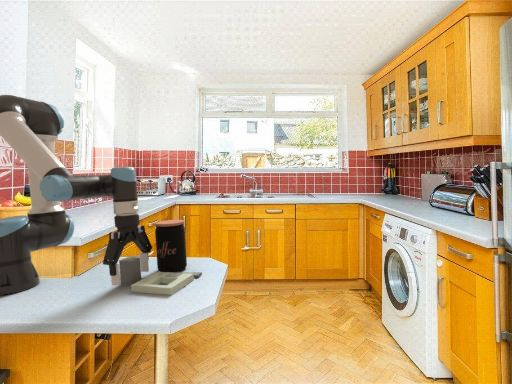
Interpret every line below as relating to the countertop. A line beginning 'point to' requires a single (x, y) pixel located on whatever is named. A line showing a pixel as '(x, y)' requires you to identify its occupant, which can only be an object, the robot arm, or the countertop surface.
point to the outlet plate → (153, 281)
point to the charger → (130, 270)
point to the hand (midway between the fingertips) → (131, 277)
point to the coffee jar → (170, 246)
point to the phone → (195, 274)
